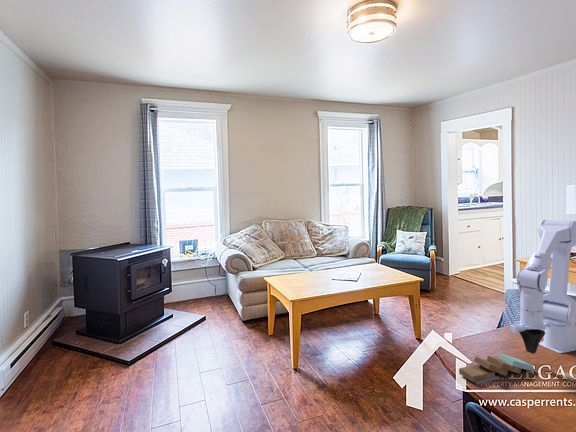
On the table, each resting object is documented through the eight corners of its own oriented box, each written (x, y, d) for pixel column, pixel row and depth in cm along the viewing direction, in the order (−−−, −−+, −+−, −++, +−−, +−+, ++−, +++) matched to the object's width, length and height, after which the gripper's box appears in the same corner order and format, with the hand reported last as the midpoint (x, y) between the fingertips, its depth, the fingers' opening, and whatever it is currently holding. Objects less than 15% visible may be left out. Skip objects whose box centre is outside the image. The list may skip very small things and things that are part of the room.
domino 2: (493, 363, 106) (475, 356, 103) (508, 371, 101) (490, 363, 99) (491, 368, 106) (473, 361, 103) (506, 376, 101) (488, 369, 99)
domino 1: (480, 363, 104) (459, 368, 102) (494, 371, 100) (472, 376, 97) (480, 368, 105) (459, 373, 102) (494, 376, 100) (472, 382, 97)
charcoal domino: (483, 368, 105) (463, 373, 102) (498, 376, 100) (477, 382, 97) (483, 373, 105) (463, 378, 102) (498, 381, 100) (477, 387, 98)
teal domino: (518, 358, 108) (499, 353, 106) (533, 366, 104) (513, 360, 101) (516, 363, 108) (497, 358, 106) (531, 371, 103) (512, 365, 101)
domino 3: (506, 361, 107) (488, 355, 105) (521, 368, 102) (502, 363, 100) (505, 366, 107) (486, 360, 105) (520, 373, 102) (501, 368, 100)
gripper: (525, 316, 100) (524, 361, 101) (562, 310, 103) (561, 354, 104) (504, 308, 106) (503, 351, 107) (539, 303, 110) (539, 344, 111)
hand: (531, 352), depth 106 cm, fingers closed
